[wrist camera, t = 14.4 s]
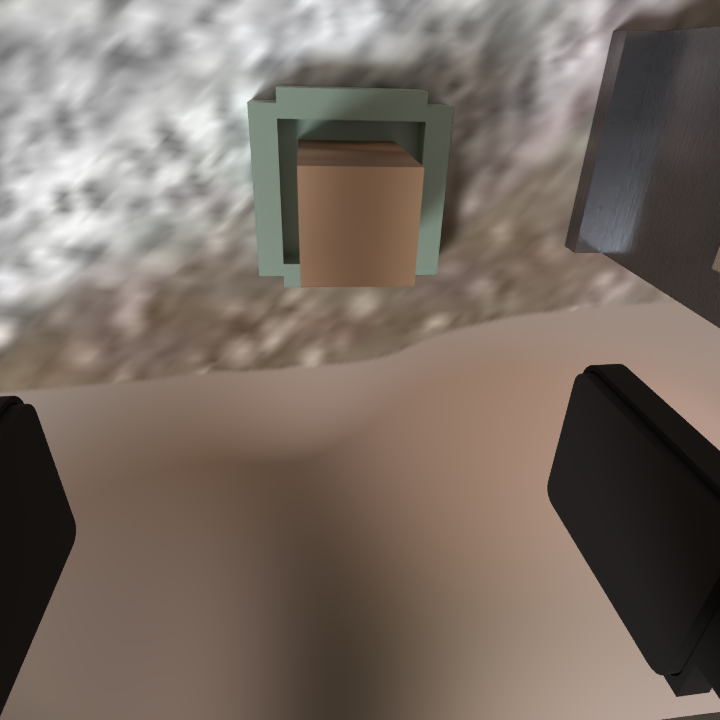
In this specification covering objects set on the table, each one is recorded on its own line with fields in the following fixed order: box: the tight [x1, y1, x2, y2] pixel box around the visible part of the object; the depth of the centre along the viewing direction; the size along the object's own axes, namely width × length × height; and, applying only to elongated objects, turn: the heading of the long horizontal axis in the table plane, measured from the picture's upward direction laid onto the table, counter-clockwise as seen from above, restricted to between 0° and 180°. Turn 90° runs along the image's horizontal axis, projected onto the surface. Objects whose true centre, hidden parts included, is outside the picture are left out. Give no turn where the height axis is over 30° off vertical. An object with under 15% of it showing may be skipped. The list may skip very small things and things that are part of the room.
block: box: [297, 139, 424, 287], centre depth 23 cm, size 4×4×7 cm
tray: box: [247, 85, 454, 287], centre depth 25 cm, size 9×9×2 cm
